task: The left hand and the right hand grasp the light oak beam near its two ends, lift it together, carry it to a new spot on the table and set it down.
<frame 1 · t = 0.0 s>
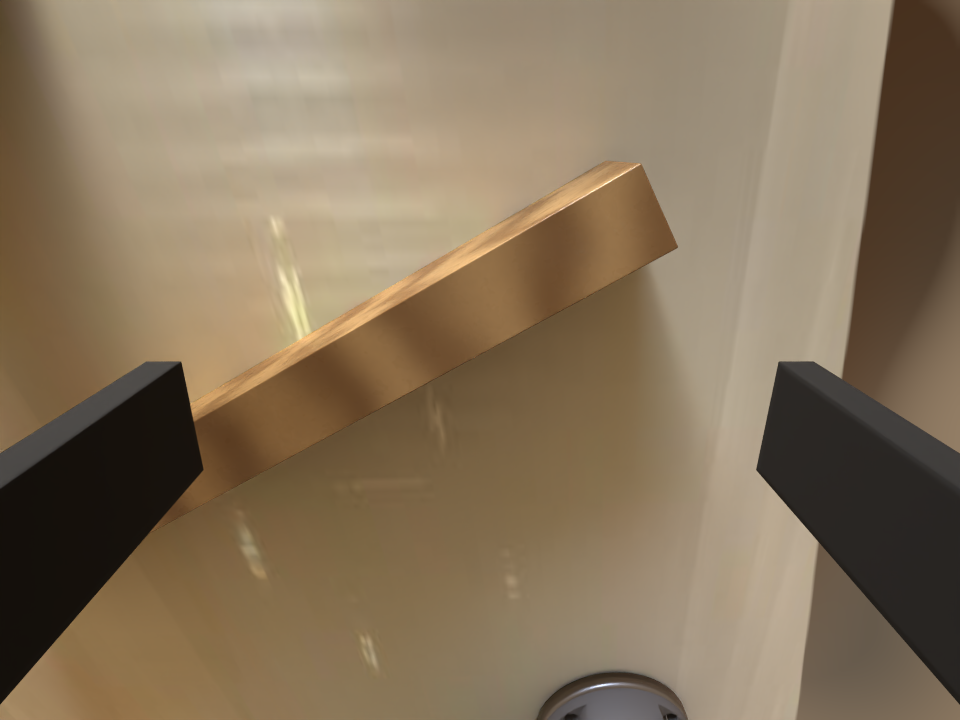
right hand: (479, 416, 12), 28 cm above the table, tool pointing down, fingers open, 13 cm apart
beam: (277, 391, 43), on the table
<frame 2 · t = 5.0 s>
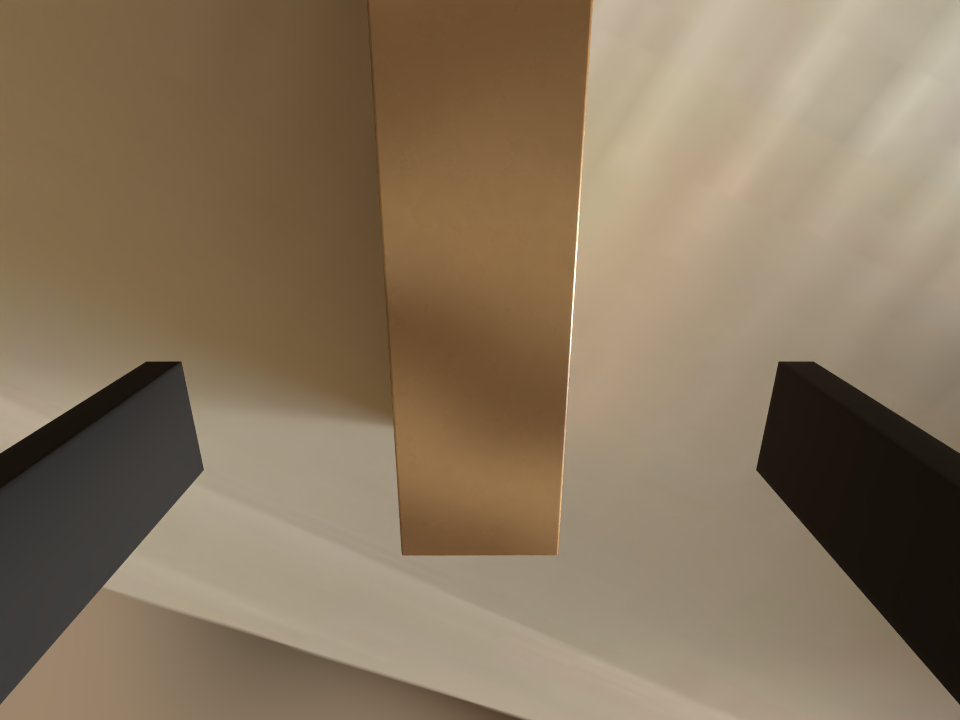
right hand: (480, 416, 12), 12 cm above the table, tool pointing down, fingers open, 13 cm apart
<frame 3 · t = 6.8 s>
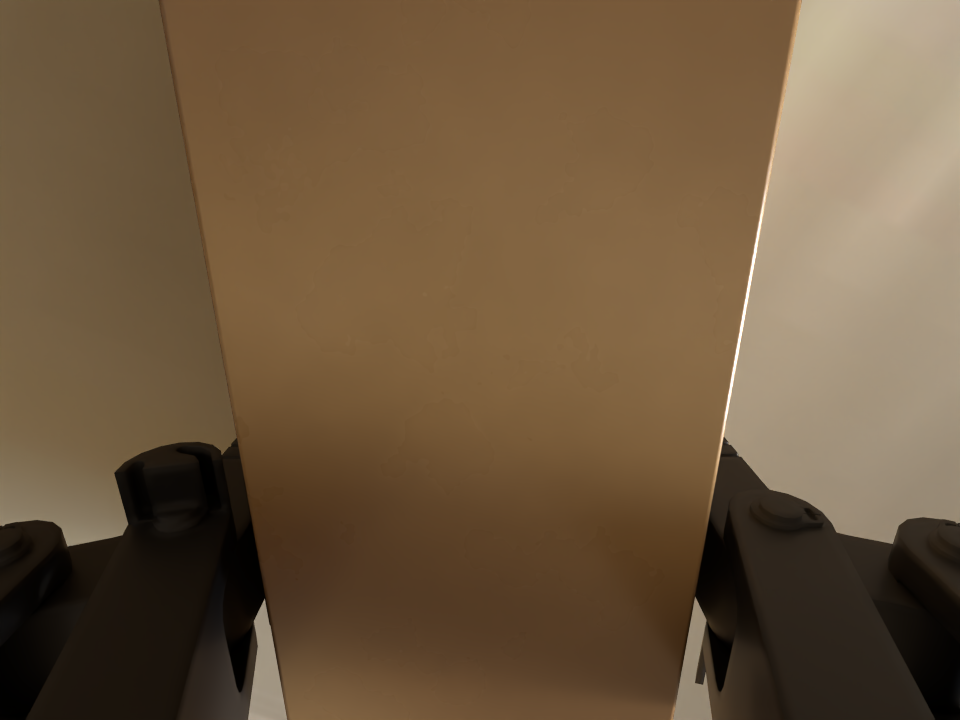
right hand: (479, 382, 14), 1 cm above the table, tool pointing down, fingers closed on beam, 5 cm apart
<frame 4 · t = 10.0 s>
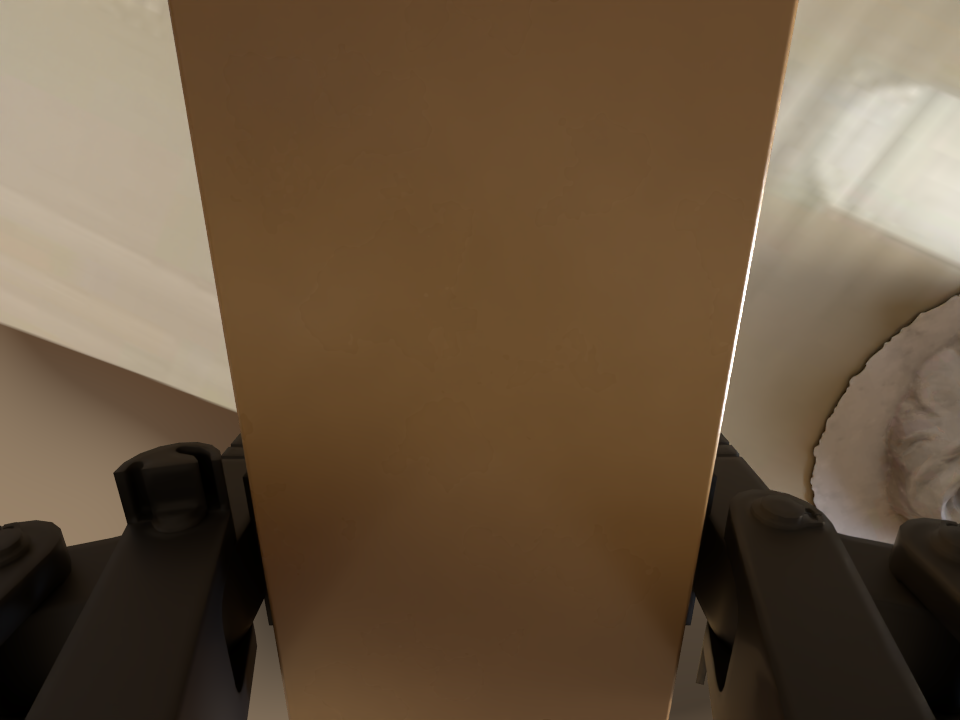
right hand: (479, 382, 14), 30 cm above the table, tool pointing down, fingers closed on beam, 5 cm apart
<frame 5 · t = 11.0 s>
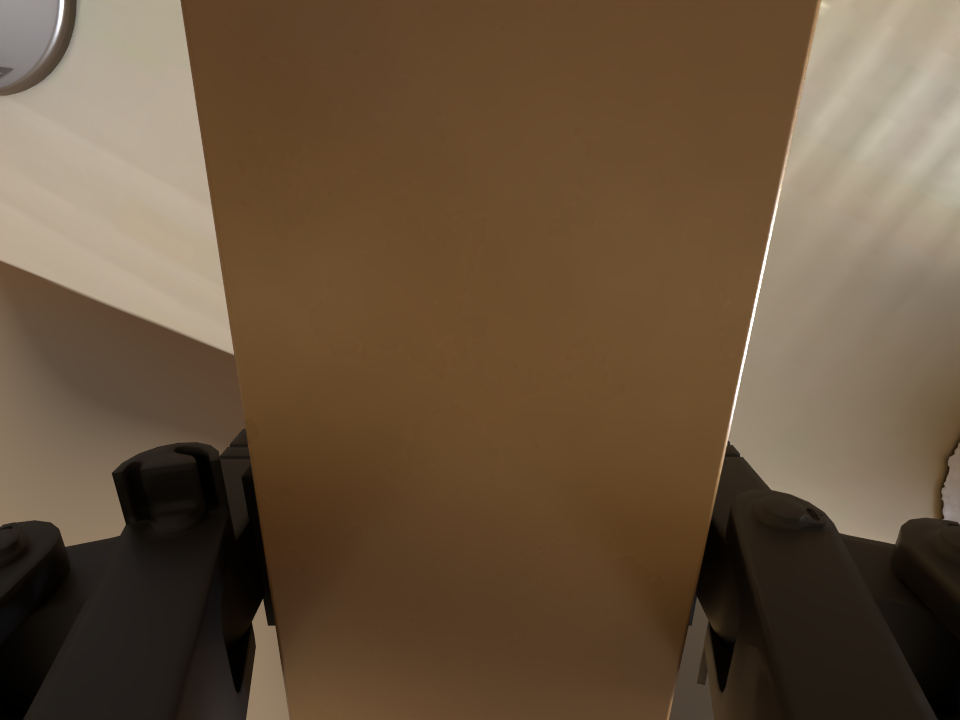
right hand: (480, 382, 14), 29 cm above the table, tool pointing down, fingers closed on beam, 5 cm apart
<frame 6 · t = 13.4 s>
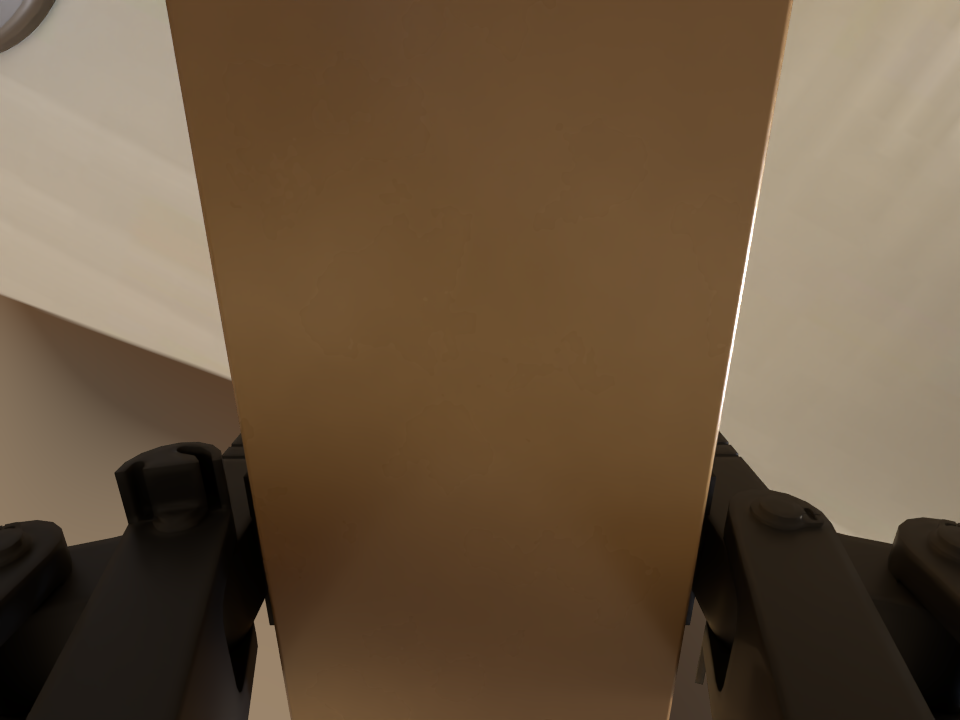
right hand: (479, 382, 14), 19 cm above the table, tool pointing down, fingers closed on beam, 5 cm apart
when the left hand's fingers open (2 cm above the table, at t = 15.5 s): beam drops 2 cm, on the table.
when the right hand's fingers open (2 cm above the table, at t = 15.5 s): beam drops 2 cm, on the table.
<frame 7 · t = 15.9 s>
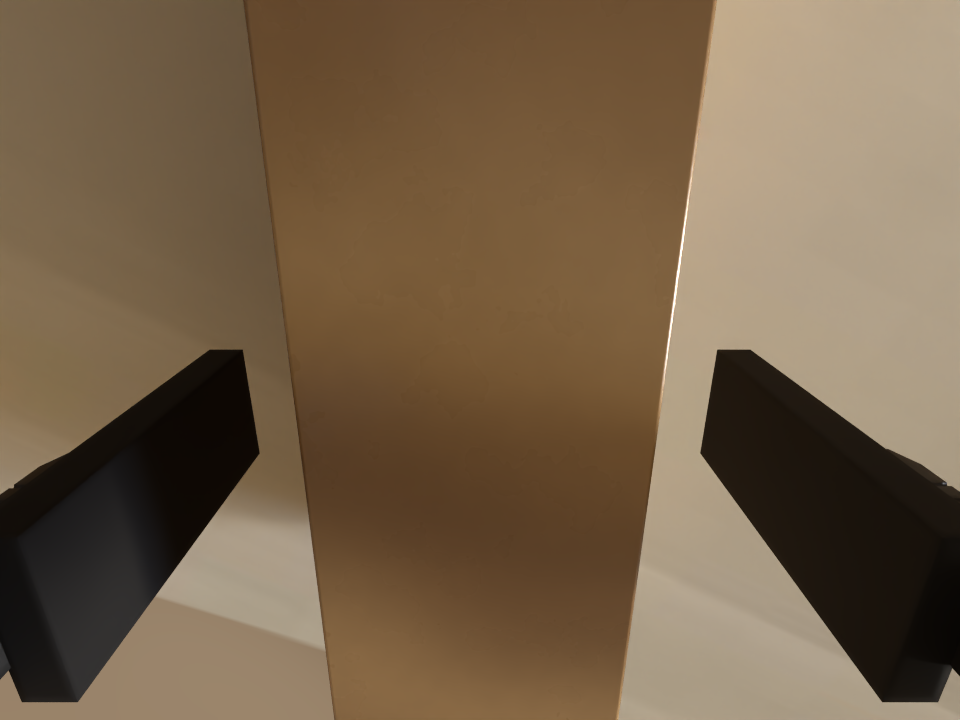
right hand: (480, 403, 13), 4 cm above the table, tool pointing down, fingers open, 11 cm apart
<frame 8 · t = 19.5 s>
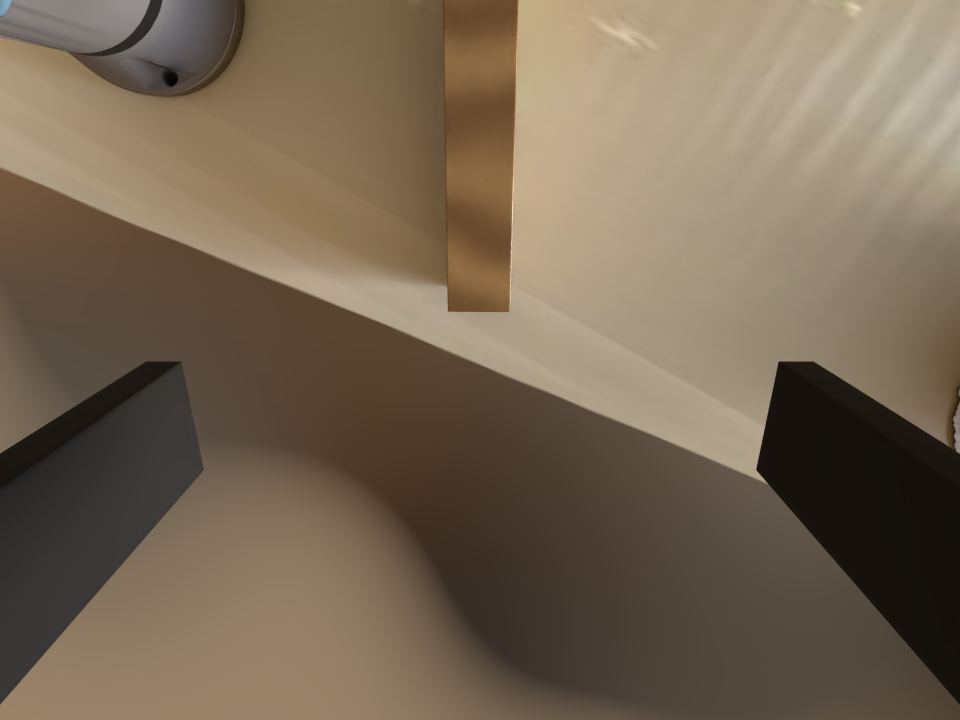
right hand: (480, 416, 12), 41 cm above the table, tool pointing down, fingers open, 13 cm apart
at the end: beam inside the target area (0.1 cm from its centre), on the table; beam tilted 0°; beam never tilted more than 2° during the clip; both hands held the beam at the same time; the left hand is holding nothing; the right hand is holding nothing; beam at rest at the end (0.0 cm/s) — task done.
